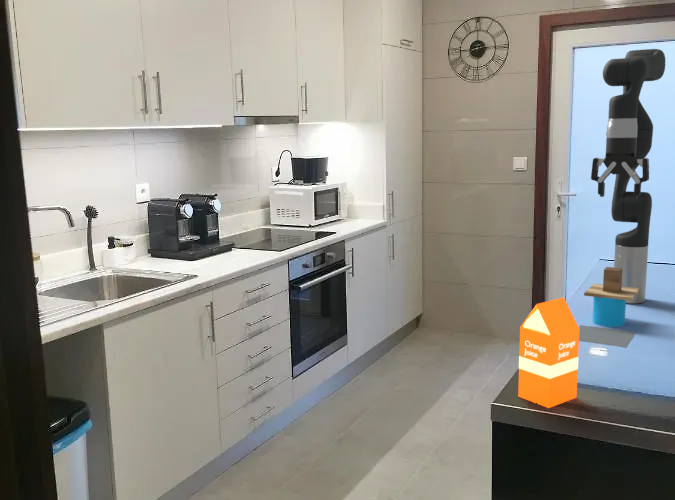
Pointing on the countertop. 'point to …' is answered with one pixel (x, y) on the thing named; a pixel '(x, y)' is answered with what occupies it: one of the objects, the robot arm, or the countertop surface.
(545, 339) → the orange juice
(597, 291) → the oak lid
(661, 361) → the countertop surface
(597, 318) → the mug
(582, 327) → the rubber mat
